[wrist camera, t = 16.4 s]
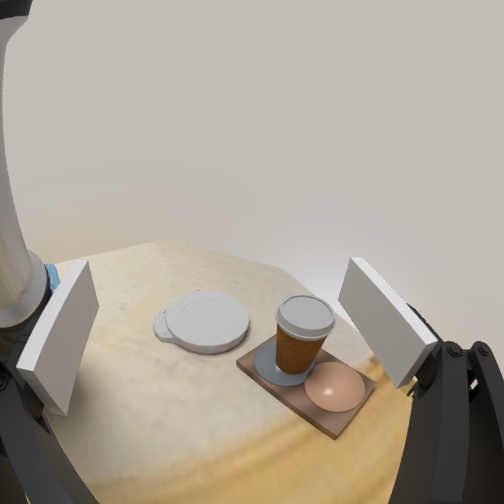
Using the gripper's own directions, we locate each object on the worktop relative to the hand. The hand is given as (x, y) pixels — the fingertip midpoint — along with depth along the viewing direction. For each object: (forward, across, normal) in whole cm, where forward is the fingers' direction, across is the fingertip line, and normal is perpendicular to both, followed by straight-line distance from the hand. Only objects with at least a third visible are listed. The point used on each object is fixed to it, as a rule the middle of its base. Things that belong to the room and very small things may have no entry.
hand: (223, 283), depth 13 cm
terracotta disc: (+11, +21, -30) cm, 39 cm away
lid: (+31, 0, -32) cm, 45 cm away
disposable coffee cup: (+18, +15, -30) cm, 38 cm away
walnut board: (+15, +17, -32) cm, 39 cm away
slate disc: (+18, +14, -30) cm, 38 cm away
